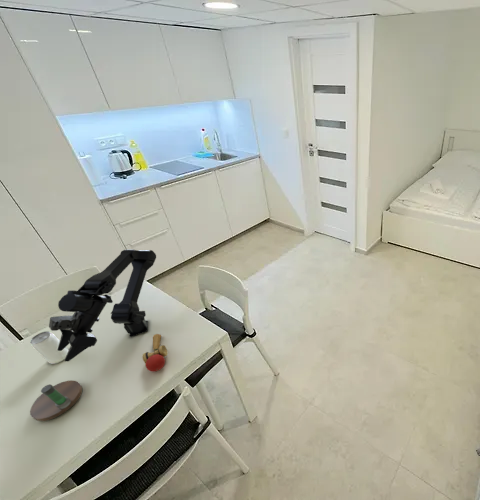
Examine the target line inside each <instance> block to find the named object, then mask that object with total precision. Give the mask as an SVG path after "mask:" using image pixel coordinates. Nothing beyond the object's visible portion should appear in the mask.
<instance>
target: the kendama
mask: <svg viewBox="0 0 480 500" xmlns="http://www.w3.org/2000/svg"><path fill="white" fill-rule="evenodd" d="M161 339H162V335H161V334H159V333H156V334H153V336H152V349H153V351H152V352H149V351H146V352H144V353H142V357H141V358H142V361H143V363H144V364H145V369H146V370H148V371H149V372H152V373H154V372H158V371H160V370H161V369H163V368H164V367H165V365H166V359H165V357H167V356H168V354H169V352H168V350H167V347H166V346H165V345H163V344H162V345H161Z"/></svg>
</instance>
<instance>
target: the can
mask: <svg viewBox="0 0 480 500" xmlns="http://www.w3.org/2000/svg"><path fill="white" fill-rule="evenodd" d="M59 342H60V339H59V338H58V337H57V335H55V334H54V333H53V332H50V331H42V332H39V333H37V334H36V335H33V336H32V338H31V339H30V341H29V343H30V344H31V347H32V348H33V350H35V351H36V352H37V354H39V355H40V356H41V357H42V358H43V359H44V360H45V361H46V362H47V363H48V364H52V365H55V364H58V363H61V362H63V361H64V360H65V358H66V355H67V353H68V351H69V348H68V347H67V346H66V347H65V348H64V349H63V350H62V351H58V346H59Z"/></svg>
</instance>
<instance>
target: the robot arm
mask: <svg viewBox="0 0 480 500" xmlns="http://www.w3.org/2000/svg"><path fill="white" fill-rule="evenodd" d="M156 259H157V254H156V253H155V252H154V250H151V249H149V250H148V249H147V250H146V249H144V250H143V249H142V250H141V249H139V250H137V249H123V250H121V251H120V253H119V254H118V256H116V258H115V259H114V260H113V261H111V263H110V264H109V265H108V266H106V267H105V268H104V269H103V270H102V271H101V272H100V271H99V272H98V273H96V274H93V275H92V276H90V277H89V278H88V279H86V280H85V282H84V283H83V284H82V285H81V287H79V288H78V289H77V290H68V291H67V293H66V294H64V295H62V297H61V298H60V300H58V305H57V306H58V307H57V308H58V309H59V310H60V311H62V312H67V313H68V312H69V313H73V314H72V315H58V316H51V317H49V323H48V328H49V329H50V331H52V332H53V331H54V332H55V331H60V339H59V340H60V342H59V346H58V351H62V350H63V349H64V348H65V347H66V348H67V346H69V345H70V346H69V348H68V350H69V351H68V353H67V355H66V358H65V359H64V360H63V361H64V362H71V360H73V359H74V358H75V357H77V356H78V355H80V354H81V353H82V352H84V351H86V350H88V348H91V347H94V346H96V343H97V342H98V339H97V337H96V336H95V335H94V333H92V332H93V327H94V325H95V323H96V322H99V321H100V315H101V313H102V312H103V310H104V309H105V307H106V305H107V304H108V303H109V304H112V303H113V299H112V296H111V295H109V294H110V293H111V291H113V289H114V287H116V284H117V279H118V278H119V276H120V275H121V274H122V273H123V272H124V271H125V270H126V269H127V268H128V267H129V266H130V265H131V266H132V271H131V274H130V276H129V280H128V283H127V285H126V288H125V291H124V294H123V298H122V300H121V301H120V302H119V303H114V304H113V307H112V310H111V312H110V319H111V321H112V323H114V324H119V325H122V324H123V328H124V330H125V332H126V333H127V334H128V335H129V338H132V337H136V336H138V335H141V334H145V333H147V332H148V330H149V321H148V320H146V318H145V317H146V315H147V313H146V311H145V310H140V307H139V304H138V300H139V297H140V294H141V290H142V289H143V285H144V282H145V278H146V275H147V272H148V270H149V269H151V267H153V265H155V262H156Z"/></svg>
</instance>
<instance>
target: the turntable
mask: <svg viewBox="0 0 480 500" xmlns="http://www.w3.org/2000/svg"><path fill="white" fill-rule="evenodd" d="M40 392H41V394H40V395H39V396H38V397H37V398H36V399H35V400H34V402H33V403H32V405H31V407H30V410H29V415H30V417H31V418H32V419H34V420H35V421H38V422H46V421H50V420H53V419H55V418H57V417H59V416H61V415H63V414H64V413H66V412H67V411H69V410H70V409H71V408H72V407H73V406H74V405H75V404H76V403H77V402H78V401H79V399H80V398H81V396H82V393H83V386H82V385H81V383H80V382H79V381H77V380H65V381H62V382H59V383H57V384H55V385H52V384H46V385H44V386H43V387H42V388H41V390H40Z"/></svg>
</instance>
